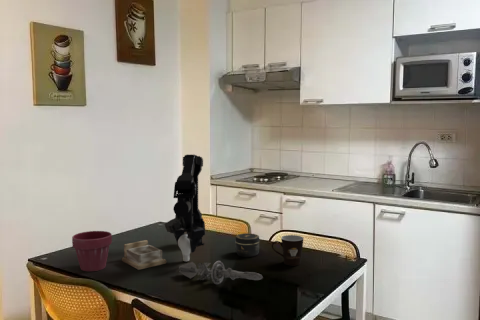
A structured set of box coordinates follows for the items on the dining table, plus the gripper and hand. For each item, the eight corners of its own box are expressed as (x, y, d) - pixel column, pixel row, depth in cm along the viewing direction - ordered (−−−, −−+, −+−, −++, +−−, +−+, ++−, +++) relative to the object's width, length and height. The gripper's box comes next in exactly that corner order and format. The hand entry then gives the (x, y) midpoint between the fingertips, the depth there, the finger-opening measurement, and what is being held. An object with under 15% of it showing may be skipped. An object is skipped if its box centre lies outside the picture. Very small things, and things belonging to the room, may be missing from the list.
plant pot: (101, 259, 185) (100, 228, 183) (119, 267, 175) (118, 234, 173) (67, 267, 175) (65, 235, 173) (83, 276, 165) (82, 242, 163)
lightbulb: (178, 259, 184) (178, 232, 183) (194, 258, 185) (194, 232, 184) (177, 264, 178) (177, 236, 177) (194, 263, 178) (193, 236, 177)
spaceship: (254, 274, 143) (264, 259, 149) (169, 267, 162) (181, 253, 168) (261, 294, 146) (271, 278, 152) (176, 284, 165) (188, 270, 171)
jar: (231, 256, 188) (231, 237, 188) (240, 249, 197) (240, 232, 197) (254, 258, 185) (254, 240, 184) (262, 251, 194) (262, 234, 193)
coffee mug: (306, 261, 181) (306, 236, 180) (299, 267, 173) (299, 242, 172) (278, 257, 186) (278, 233, 185) (270, 263, 178) (270, 238, 177)
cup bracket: (149, 254, 190) (148, 239, 190) (166, 263, 180) (166, 246, 179) (122, 260, 183) (121, 244, 182) (138, 269, 172) (138, 252, 171)
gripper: (155, 209, 181) (156, 248, 183) (180, 218, 167) (181, 259, 169) (179, 206, 188) (180, 243, 190) (205, 213, 174) (206, 253, 176)
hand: (186, 249), depth 181 cm, fingers open, 9 cm apart
